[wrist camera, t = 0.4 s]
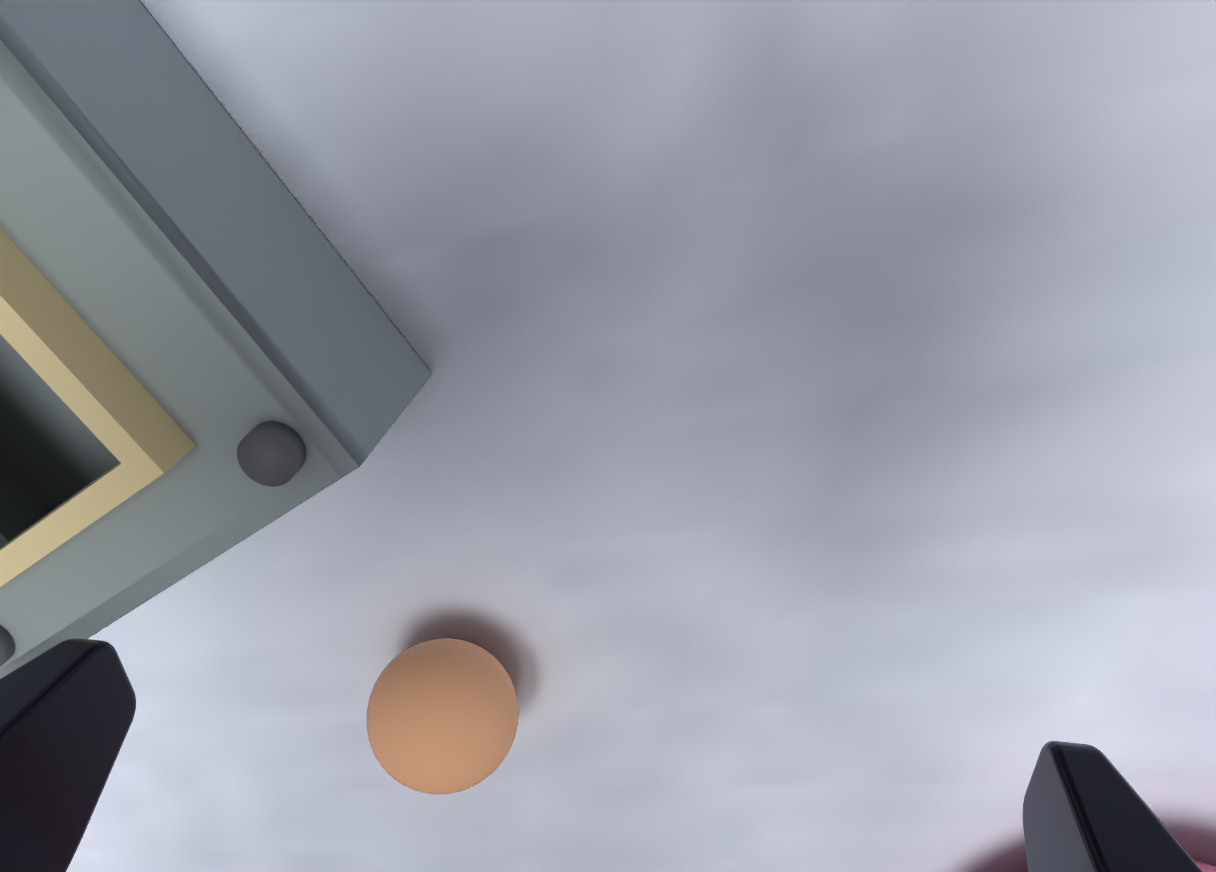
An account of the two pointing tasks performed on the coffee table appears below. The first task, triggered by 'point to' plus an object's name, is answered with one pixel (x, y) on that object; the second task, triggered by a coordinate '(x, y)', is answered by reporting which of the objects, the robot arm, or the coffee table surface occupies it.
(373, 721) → the bead
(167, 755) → the coffee table surface
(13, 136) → the grey box with opening
